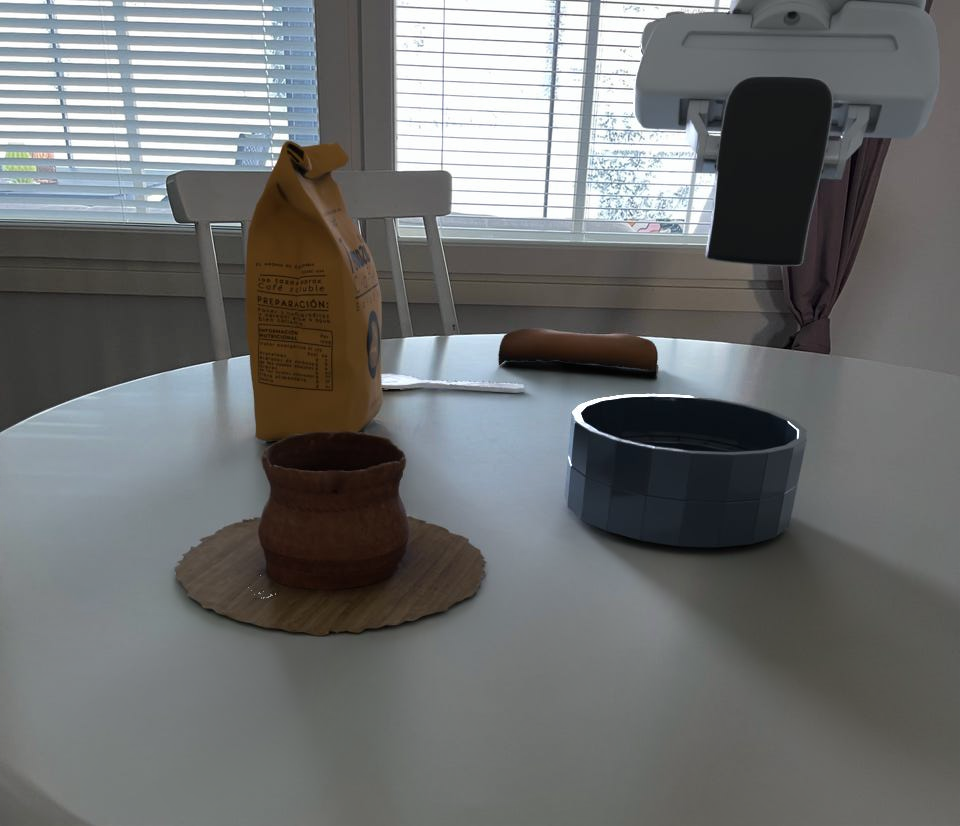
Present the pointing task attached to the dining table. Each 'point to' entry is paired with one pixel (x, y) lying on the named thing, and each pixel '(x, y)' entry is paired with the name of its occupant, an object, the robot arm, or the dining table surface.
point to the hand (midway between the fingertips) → (769, 169)
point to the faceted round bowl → (683, 469)
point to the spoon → (446, 384)
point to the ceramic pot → (331, 545)
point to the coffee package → (311, 302)
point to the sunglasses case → (579, 349)
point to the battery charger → (769, 169)
